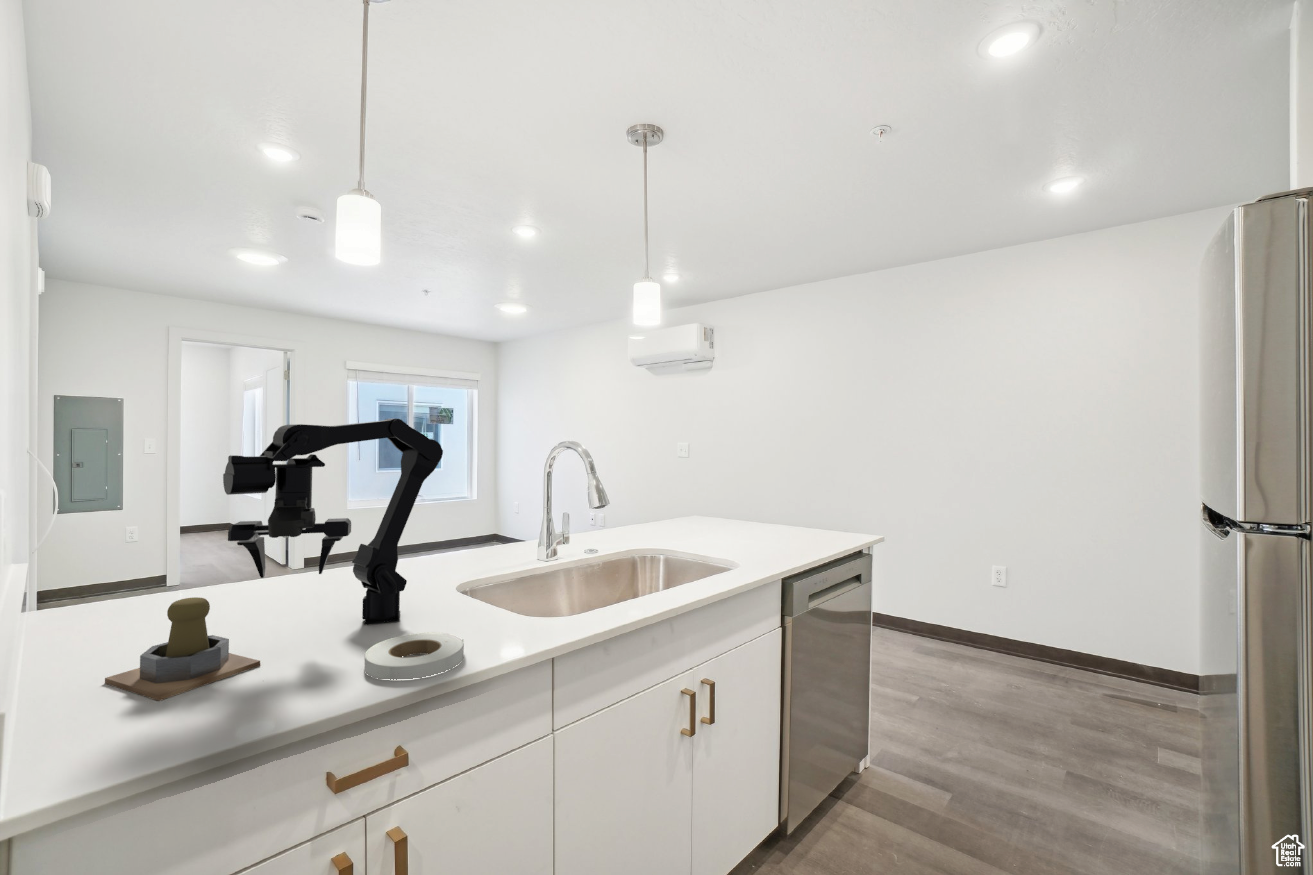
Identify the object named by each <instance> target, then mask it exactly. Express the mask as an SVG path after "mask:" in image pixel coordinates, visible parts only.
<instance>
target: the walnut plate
mask: <svg viewBox="0 0 1313 875" xmlns="http://www.w3.org/2000/svg"><path fill="white" fill-rule="evenodd" d="M257 667H261V660H258V659H254V658H251V657H247V656H243V655H239V654H236V653H235V654H234V653H232V652H231V653H230V652H229V657H228V661H227V662H226V663H225V665H224V666H223V667H222V668H221V669H220V670H217V671H214V672H211V673H208V674H205V675H202V676H199V677H196V678H193V679H190V680H182V681H174V682H165V683H157V684H155V683H152V682H149V681H146V680H142V679H140V667H138V668H134V669H131V670H127V671H124V672H120V673H116V674H113V675H110V676H106V677H105V678H104V684H105V685H109V686H112V687H115V688H118V689H122V690H124V691H128V692H131V693H134V694H137V695H140V696H142V697H143V696H144V697H146V698H149V699H152V700H155V701H158V702H160V701H163V700H165V699H168V698H172V697H175V696H176V695H180V694H182V693H186V692H189V691H191V690H194V689H198V688H200V687H203V686H206V685H209V684H212V683H214V682H217V681H220V680H223V679H226V678H230V677H232V676H235V675H237V674H240V673H242V672H246V671H249V670H252V669H255V668H257Z"/></svg>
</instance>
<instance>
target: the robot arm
mask: <svg viewBox="0 0 1313 875" xmlns="http://www.w3.org/2000/svg"><path fill="white" fill-rule="evenodd" d="M386 438H387V440H389V442H391V444H392V445H393V446H394V448H396V449H397V450H399V451H400V452H401V453H402V454H401V458H400V472H401V473H400V476H399V480H398V482H397V484H396V487H395V489H394V490H393V493H392V496H391V498H390V501H389V502H388V505H387V507H386V510H385V513H384V514H383V517H382V520H381V521H380V524H379V526H378V529H377V531H376V534H375V535H374V538H373V539H372V540H371V541H370V542H369V543H368V544H365V543H360V545H359V546H358V548H357V549H358V550H357V553H356V555H355V557H354V559H353V560H351V563H352V564H353V567H352V573H353V575H354V576H355V578H356V580H358V581H360V582H361V585H362V587H363V588H364V589H366V591H365V595H364V597H363V599H362V617H361V618H362V620H364V621H363V624H364V625H373V624H382V623H384V624H385V623H394V622H395V623H396V622H400V619H401V618H400V617H401V610H400V609H401V608H400V605H401V604H400V602H401V600H400V599H401V598H400V597H401V596H400V594H401V592H403V591H404V590H405V588H406V585H407V582H408V580H407V579H406V578H405V577H403V576H402V575H401V574H400V573H399V572H397V570H396V569H397V566H398V562H399V552H398V551H399V546H398V545H399V542H400V540H401V537H402V535H403V532H404V530H405V528H406V526H407V523H408V521H409V517H410V516H411V513H412V510H413V508H414V506H415V503H416V500H417V498H418V497H419V496H418V495H419V492H420V491H421V489H422V486H423V483H424V482H425V480H426V479H427V478H428V477H429V476H430V475H431V474H432V473H433V472H434V471H435V469H436V468H437V466H438V465H439V463H440V461H441V460H442V457H443V454H444V450H443V448H442V445H441V444H440V443H439V442H438V441H437V440H435V439H432V438H429V437H428V436H426V435H425V434H423V433H421V432H420V431H418V430H417V429H414V428H413V427H411V426H410V425H408V424H407V422H405V421H403V419H401V418H385V419H383V420H375V421H367V422H366V421H365V422H357V423H347V424H338V425H337V424H336V425H318V424H316V425H315V424H302V423H301V424H298V423H297V424H285V425H281V426H280V427H278V428H277V430H275V432H274V434H273V437H272V442H271V443H270V444H269V445H268V446H267V447H266V448H265V449H264V451H263V452H262V453H261V454H260V455H259V456H255V455H254V456H253V455H251V456H244V455H238V454H237V455H233V454H231V455H229V456H228V457H227V458H228V459H227V460H228V461H227V464H226V466H225V470H224V473H223V474H222V475H223V476H222V481H223V484H222V485H223V488H224V492H225V494H226V495H227V496H229V495H248V494H251V495H252V494H266V493H267V492H268V491H269V489H273V487H274V486H275V497H274V498H275V499H274V507H273V509H272V511H271V513H270V515H269V516H268V519H267V524H263V522H262V520H247V521H245V520H244V521H243V520H242V521H241V520H240V521H238V522H236V523H234V524H232V525H231V526H230V527H229V528H228V530H227V541H228V542H236V544H237V546H243V547H244V548H246V550H247V551H248V552H249V554H250V556H251V558H252V560H253V562H254V565H255V567H256V569H257V572H258V575H259V576H260V578H261V579H264V578H265V577H266V576H265V575H266V552H265V551H266V550H265V549H266V548H265V545H266V544H265V537H264V536H269V538H273V539H278V538H280V537H290V538H297V537H300V536H301V535H302V534H324V536H323V537H322V539H321V549H320V550H321V551H320V556H319V563H318V575H322V574H323V571H324V569H325V566H326V563H327V561H328V558H329V555H330V553H331V551H332V549H333V547H334V545H335V543H336V542H338V541H339V542H340V541H341V540H342V539H343V538H344V537H348V536H349V535H350V534H351V533H352V520H351V519H350V518H348V517H347V518H346V517H344V518H343V517H342V518H340V517H339V518H327V519H326V520H325V521H324V522H321V523H320V522H319V523H318V522H317V523H316V520H317V519H316V511H315V508H314V507H312V505H313V504H312V502H313V500H312V499H313V497H312V496H313V494H312V493H313V468H321V467H323V468H324V467H325V466H326V463H325V462H324V461H322V460H321V459H319V457H318V456H317V455H316V454H314V453H316V452H317V453H318V452H319V451H322V450H325V449H328V448H330V447H334V446H336V445H342V444H350V443H358V442H366V441H367V442H368V441H373V440H380V439H386ZM306 455H308V456H307V457H306V458H305V457H304V458H302V457H301V458H300V457H299V458H297V457H296V456H306ZM294 457H296V458H294ZM274 462H286V463H277V464H275V463H274Z"/></svg>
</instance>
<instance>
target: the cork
mask: <svg viewBox="0 0 1313 875" xmlns="http://www.w3.org/2000/svg"><path fill="white" fill-rule="evenodd" d="M210 610H211V605H210V601H208V600H207V598H204V597H186V598H181V599H179V600H178V599H177V600H175V601H173V602H172V603H171V604H170V605H169V607H168V609H167V619H168V620H169V621H170V623H171V625H170V630H169V634H168V636H169V637H168V641H167V642H168V646H167V651H166V656H165V657H170V656H180V655H189V654H193V653H196V652H200V651H203V650H206V649H209V642H208V636H209V635H208V628H207V621H206V617H207V616H208V615H209V613H210Z"/></svg>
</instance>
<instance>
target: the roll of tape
mask: <svg viewBox="0 0 1313 875" xmlns="http://www.w3.org/2000/svg"><path fill="white" fill-rule="evenodd" d="M464 642H465V641H464V639H462V638H460V637H459V636H457V635H455V634H450V633H445V632H417V633H409V634H404V635H398V636H394V637H391V638H387V639H385V640H382V641H380V642H377V643H376V644H374V645H372V646H371V647H369V648H368V649H367V650H366V652H365V653H364V673H365V672H366V673H365V674H366V675H367V674H368V675H369V676H368V675H367V676H368V677H370V676H372V677H373V679H375V678H378V679H390V680H391V679H393V680H394V679H396V680H397V679H413V678H422V677H426V676H431V675H434V674H438V673H441V672H445V671H446V670H449V669H452V668H453V667H455V666H456V665H458V664H459V663H460V662H461V661H462V662H463V660H464V653H465V652H464V651H465V650H464V649H465V648H464V646H465V643H464ZM420 653H428V654H424V655H423V654H422V655H421V654H420ZM410 654H413V655H419V656H411V655H410ZM407 655H408V656H409V657H407ZM402 656H404V657H402ZM410 656H411V657H410ZM462 659H463V660H462ZM462 662H461V663H462ZM461 663H460V664H461ZM460 664H459V665H460ZM459 665H458V666H459ZM455 668H456V667H455ZM452 670H453V669H452ZM445 673H446V672H445ZM372 677H371V678H372ZM378 679H377V680H378Z"/></svg>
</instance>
